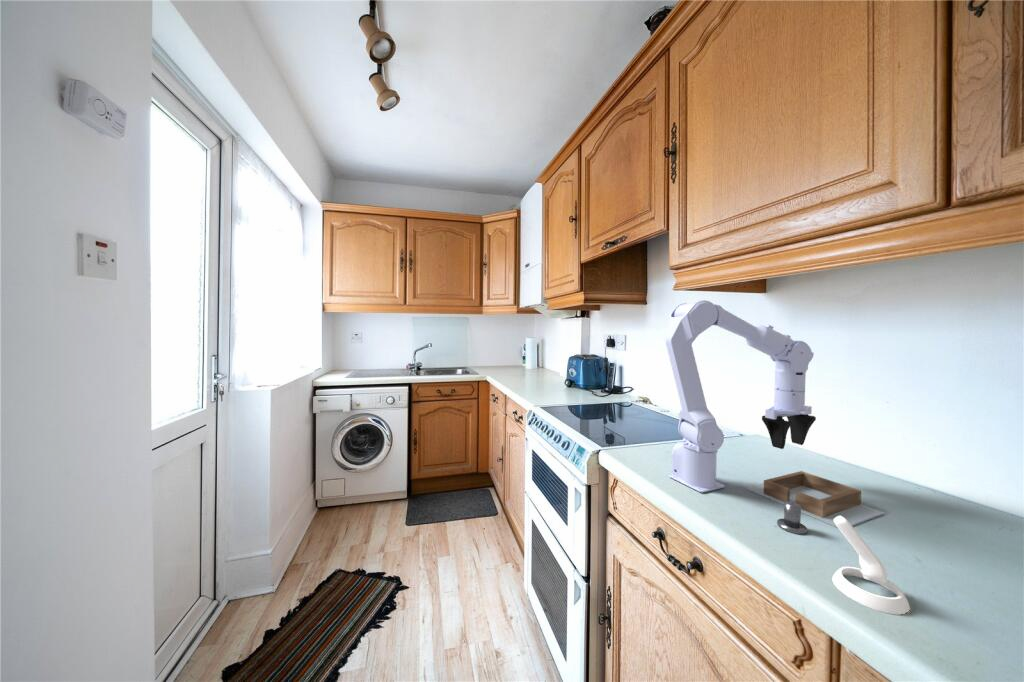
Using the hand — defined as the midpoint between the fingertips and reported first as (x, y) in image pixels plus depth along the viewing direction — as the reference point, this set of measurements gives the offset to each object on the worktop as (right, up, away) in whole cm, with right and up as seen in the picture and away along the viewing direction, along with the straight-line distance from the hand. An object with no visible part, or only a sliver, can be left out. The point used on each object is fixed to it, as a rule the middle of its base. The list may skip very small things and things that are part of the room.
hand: (787, 445), depth 83 cm
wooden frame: (-1, -9, -8) cm, 12 cm away
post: (-14, -10, -18) cm, 25 cm away
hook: (-16, -11, -34) cm, 39 cm away
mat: (-2, -10, -8) cm, 13 cm away
